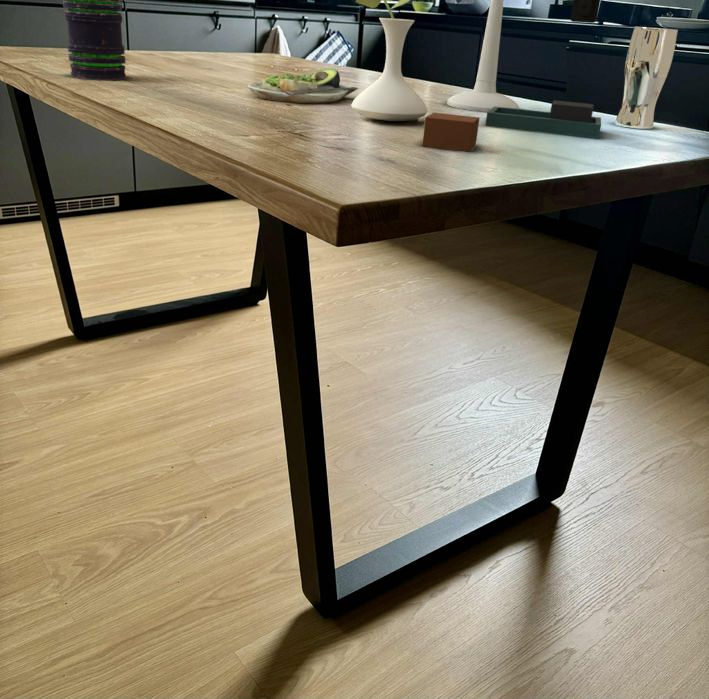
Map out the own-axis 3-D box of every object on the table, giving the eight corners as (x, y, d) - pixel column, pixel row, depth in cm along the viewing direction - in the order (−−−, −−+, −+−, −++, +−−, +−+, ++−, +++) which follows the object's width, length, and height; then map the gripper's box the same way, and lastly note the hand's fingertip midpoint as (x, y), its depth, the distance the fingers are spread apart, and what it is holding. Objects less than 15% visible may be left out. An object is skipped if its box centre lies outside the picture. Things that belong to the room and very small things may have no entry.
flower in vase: (439, 121, 109) (461, -67, 98) (401, 129, 100) (420, -77, 90) (368, 110, 115) (381, -68, 104) (326, 116, 107) (335, -78, 96)
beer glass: (656, 131, 116) (680, 30, 109) (611, 126, 118) (633, 26, 111) (654, 125, 122) (677, 29, 115) (612, 121, 124) (632, 26, 117)
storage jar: (83, 80, 126) (74, -15, 119) (61, 73, 132) (51, -17, 126) (136, 79, 132) (130, -11, 125) (113, 73, 138) (106, -13, 132)
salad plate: (338, 109, 114) (339, 78, 112) (231, 99, 116) (231, 68, 114) (361, 97, 131) (363, 70, 129) (268, 88, 134) (268, 61, 132)
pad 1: (475, 145, 92) (479, 117, 91) (469, 151, 88) (473, 122, 87) (430, 140, 94) (433, 112, 92) (422, 146, 89) (425, 116, 88)
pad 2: (588, 128, 111) (593, 104, 109) (588, 132, 106) (593, 107, 105) (549, 123, 112) (553, 100, 110) (547, 127, 108) (551, 103, 106)
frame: (598, 130, 112) (601, 117, 111) (598, 138, 105) (601, 124, 104) (492, 119, 116) (494, 106, 115) (485, 126, 108) (487, 112, 108)
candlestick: (444, 108, 125) (468, -93, 112) (449, 99, 136) (470, -84, 123) (519, 114, 123) (551, -89, 110) (517, 105, 134) (546, -79, 121)
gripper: (640, -133, 86) (611, 24, 93) (636, -110, 101) (611, 23, 108) (576, -134, 88) (552, 20, 95) (581, -111, 102) (560, 20, 110)
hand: (583, 22), depth 101 cm, fingers open, 9 cm apart
